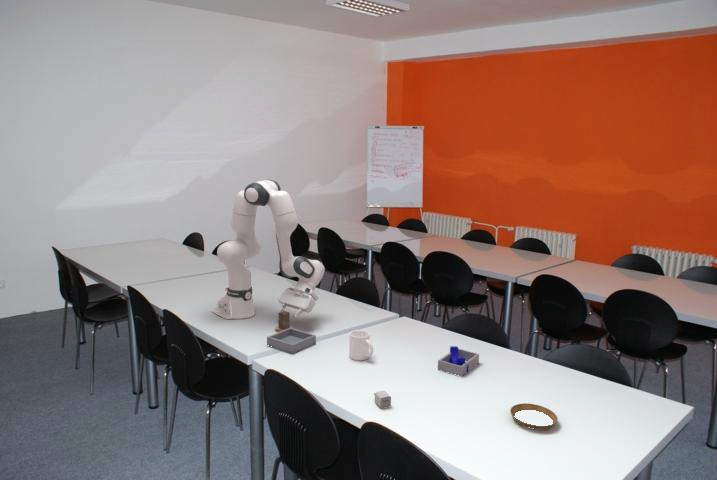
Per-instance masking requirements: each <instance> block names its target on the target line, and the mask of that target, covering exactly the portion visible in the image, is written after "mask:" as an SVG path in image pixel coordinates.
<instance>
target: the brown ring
mask: <svg viewBox="0 0 717 480" xmlns="http://www.w3.org/2000/svg"><path fill="white" fill-rule="evenodd" d="M509 410H510V411H509V413H510V414H511V416H512V418H513V419H514V420H515V421H516V422H517V423H518V424H519V423H520V424H519V425H521V424H522V425H524V426H526V427H525V428H527V427H530V428H534V429H533V430H535V429H543V430H546V428H547V429H549V428H551V427H553V426H555V424H557V422H558V416H557V414H556V413H555V412H554V411H552V410H551V409H549V408H547V407H545V406H542V405H538V404H534V403H518V404H515V405H513V406H512V407H510V409H509ZM521 410H536V411H539V412H543V413H544V414H546V415H548V416H549V417H550V418H551V419H552V420H553V424H552V425H548V426H536V425H531V424H527V423H524V422H522V421H520V420H518V419H516V418H515V417H514V416H515V413H516V412H518V411H521ZM522 425H521V426H522ZM524 426H523V427H524ZM530 428H529V429H530Z"/></svg>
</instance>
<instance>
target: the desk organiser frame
mask: <svg viewBox="0 0 717 480" xmlns="http://www.w3.org/2000/svg"><path fill="white" fill-rule="evenodd" d="M458 356H459V357H465V363H464V364H463V365H462V366H459V365H456V364H452V363H450V361H451V352H450V351H449V352H448V353H447V354H445V355H444V356H443V357H441V358H440V359H438V361H437V371H440V370H442V371H441V372H443V371H445V372H444V373H446V372H449V373H448V374H450V373H452V374H451V375H453V374H456V375H459V376H458V377H460V376H462V375H463V374H464V375H465V373H466V372H467V365H468V370H469V371H471V370H472V369H473V368H475V367H476V366H477V365H478V364H479V362H480V354H479V353H476V352H473V351H469V350H465V349H463V348H462V349H461V348H458ZM466 360H468V361H466ZM477 363H478V364H477ZM476 364H477V365H476ZM475 365H476V366H475ZM472 367H473V368H472ZM471 368H472V369H471ZM470 369H471V370H470ZM466 374H467V373H466ZM456 375H455V376H456ZM464 375H463V376H464ZM463 376H462V377H463Z"/></svg>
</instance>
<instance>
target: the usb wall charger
mask: <svg viewBox="0 0 717 480" xmlns="http://www.w3.org/2000/svg"><path fill="white" fill-rule="evenodd" d="M373 395H374V403H375V404H376V405H377V406H378V407H379V408H380V409H386V408H385V407H387V408H390V407H391V406H392V397H391V395H390V394H388V392H386V390H381V391H376V392H374V393H373ZM389 406H390V407H389Z"/></svg>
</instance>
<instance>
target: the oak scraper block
mask: <svg viewBox="0 0 717 480" xmlns="http://www.w3.org/2000/svg"><path fill="white" fill-rule="evenodd" d="M290 316H291V315H290V311H289V312H288V311H285V310H284V311H282V312H278V316H277V317H278V322H277V323H278V326H277V327H275V328H274V332H276V333H278V332H281V331H284V330H286V329H289V328H293V326H290V319H291V318H290Z"/></svg>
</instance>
